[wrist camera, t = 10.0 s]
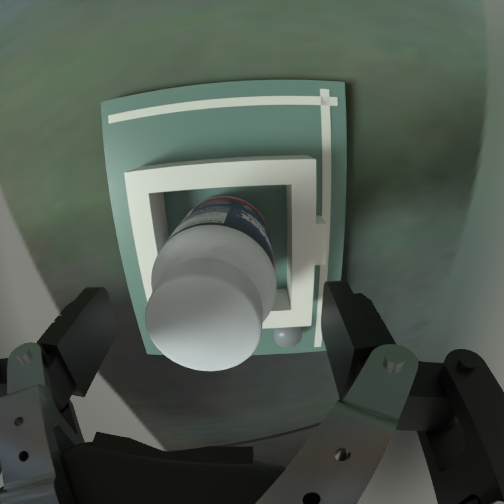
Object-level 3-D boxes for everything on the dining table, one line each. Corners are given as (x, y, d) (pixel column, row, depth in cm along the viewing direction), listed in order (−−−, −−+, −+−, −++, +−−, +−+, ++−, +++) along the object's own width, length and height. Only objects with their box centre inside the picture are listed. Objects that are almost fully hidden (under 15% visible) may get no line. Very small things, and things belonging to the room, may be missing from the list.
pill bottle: (281, 264, 19) (299, 367, 10) (202, 287, 19) (171, 393, 11) (253, 181, 17) (252, 234, 8) (168, 211, 17) (101, 284, 9)
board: (107, 103, 16) (79, 100, 12) (339, 84, 15) (359, 75, 12) (150, 346, 22) (138, 376, 19) (330, 341, 22) (339, 372, 19)
